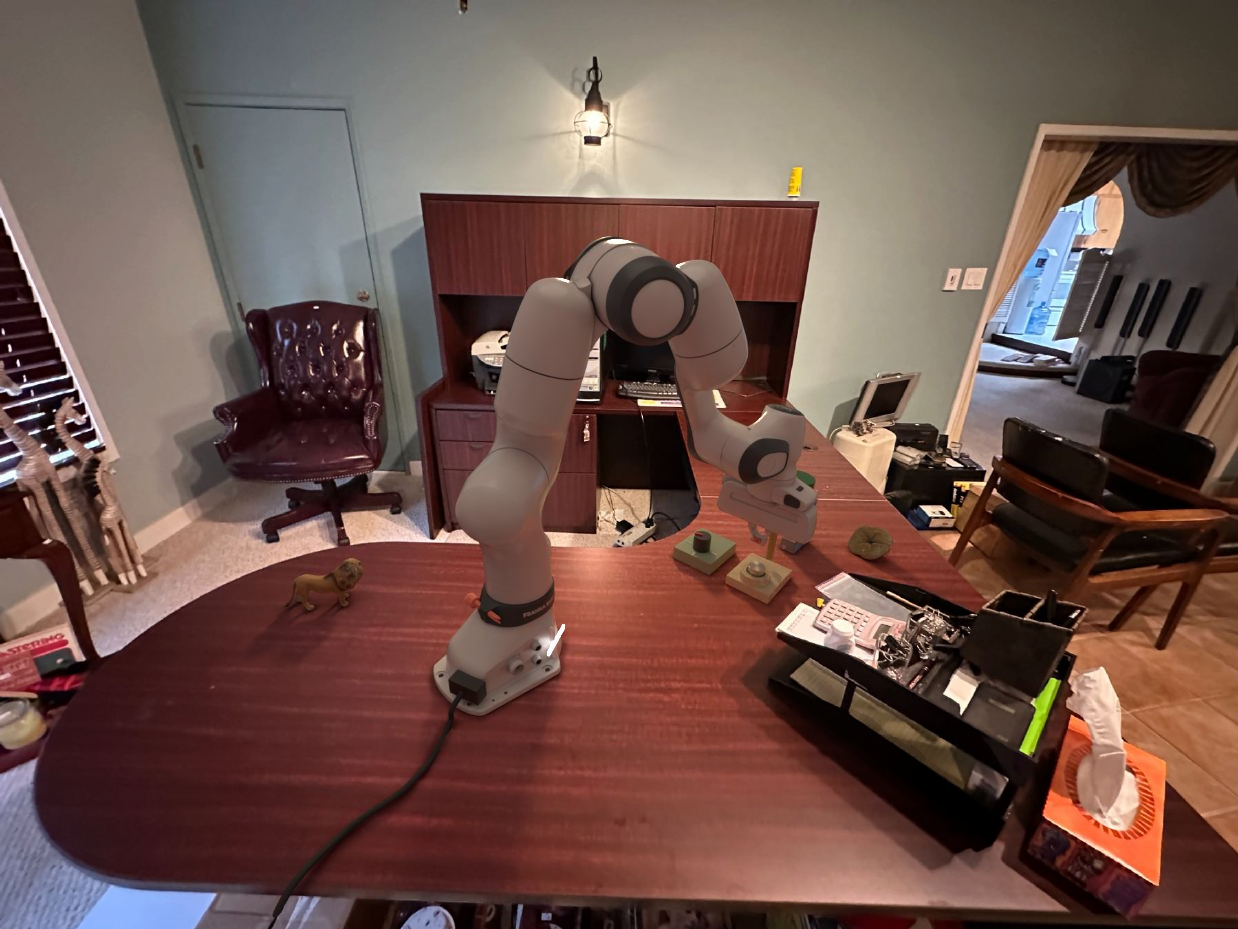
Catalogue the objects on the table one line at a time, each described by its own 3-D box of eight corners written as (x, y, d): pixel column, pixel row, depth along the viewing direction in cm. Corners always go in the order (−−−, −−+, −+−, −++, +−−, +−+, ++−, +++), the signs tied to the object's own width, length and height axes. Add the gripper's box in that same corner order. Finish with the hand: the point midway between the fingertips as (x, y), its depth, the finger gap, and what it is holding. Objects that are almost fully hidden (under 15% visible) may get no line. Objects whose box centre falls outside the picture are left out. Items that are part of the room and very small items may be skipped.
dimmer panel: (708, 575, 111) (710, 564, 110) (672, 557, 117) (673, 546, 115) (734, 553, 119) (736, 542, 118) (699, 537, 125) (701, 526, 124)
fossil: (857, 520, 125) (898, 530, 117) (863, 528, 127) (903, 539, 119) (842, 550, 123) (882, 562, 115) (848, 558, 125) (888, 571, 117)
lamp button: (759, 579, 104) (760, 573, 104) (744, 572, 107) (745, 566, 106) (766, 572, 107) (768, 565, 106) (751, 565, 109) (753, 558, 108)
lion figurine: (369, 587, 102) (362, 550, 99) (367, 603, 98) (359, 566, 94) (287, 601, 98) (276, 563, 94) (281, 619, 93) (269, 580, 89)
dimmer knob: (710, 545, 117) (712, 531, 115) (708, 554, 113) (710, 540, 112) (694, 541, 118) (695, 528, 116) (691, 550, 114) (692, 537, 113)
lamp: (784, 567, 108) (801, 492, 101) (751, 552, 113) (764, 479, 105) (804, 545, 117) (821, 474, 109) (773, 532, 121) (787, 463, 113)
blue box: (793, 534, 128) (803, 492, 123) (808, 540, 126) (818, 498, 121) (778, 548, 122) (788, 504, 117) (794, 555, 120) (804, 510, 115)
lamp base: (767, 604, 103) (770, 588, 101) (724, 583, 109) (727, 568, 107) (790, 578, 111) (793, 563, 110) (750, 560, 117) (752, 545, 115)
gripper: (716, 472, 102) (707, 529, 108) (814, 507, 90) (798, 569, 96) (731, 463, 106) (722, 518, 112) (826, 496, 95) (810, 556, 100)
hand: (758, 542), depth 104 cm, fingers closed
